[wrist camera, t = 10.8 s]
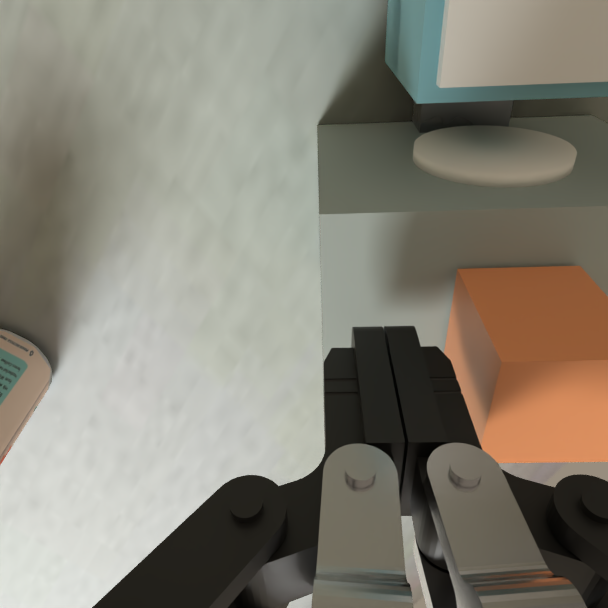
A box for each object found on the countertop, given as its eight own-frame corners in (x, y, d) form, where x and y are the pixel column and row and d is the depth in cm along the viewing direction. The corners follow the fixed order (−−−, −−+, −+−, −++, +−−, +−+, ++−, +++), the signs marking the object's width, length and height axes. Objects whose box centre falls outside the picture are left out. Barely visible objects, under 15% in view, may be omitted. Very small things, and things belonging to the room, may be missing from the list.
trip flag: (457, 268, 12) (501, 362, 9) (579, 265, 12) (663, 359, 9) (442, 360, 14) (476, 463, 11) (550, 358, 14) (613, 461, 11)
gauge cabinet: (317, 113, 18) (319, 198, 11) (611, 102, 18) (788, 184, 11) (320, 265, 22) (323, 396, 15) (564, 259, 21) (677, 390, 15)
